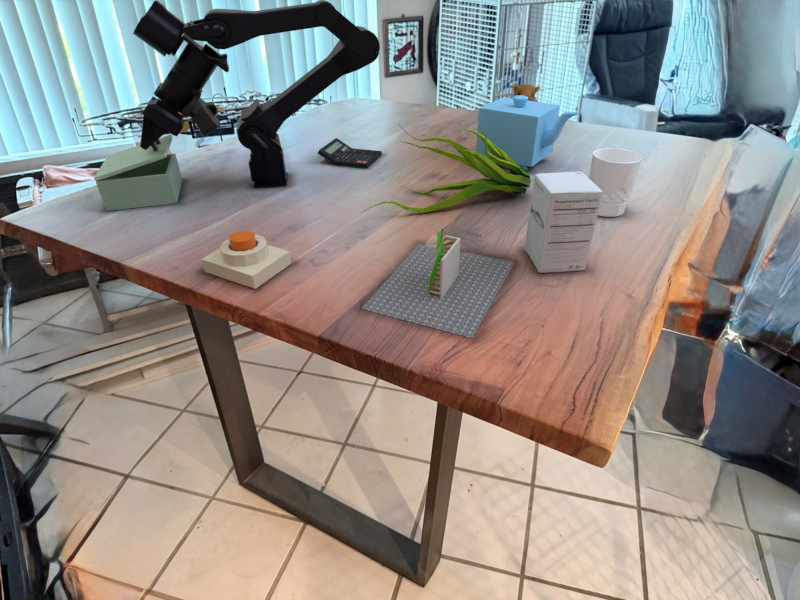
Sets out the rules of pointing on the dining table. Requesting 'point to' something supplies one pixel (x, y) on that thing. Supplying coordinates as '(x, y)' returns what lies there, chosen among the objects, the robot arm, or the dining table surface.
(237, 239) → the button
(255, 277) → the control block
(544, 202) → the white packaging box
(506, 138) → the teapot
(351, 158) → the calculator
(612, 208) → the white cup
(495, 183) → the decorative plant
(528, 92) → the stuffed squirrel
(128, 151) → the box lid
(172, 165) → the green lidded box
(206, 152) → the dining table surface
